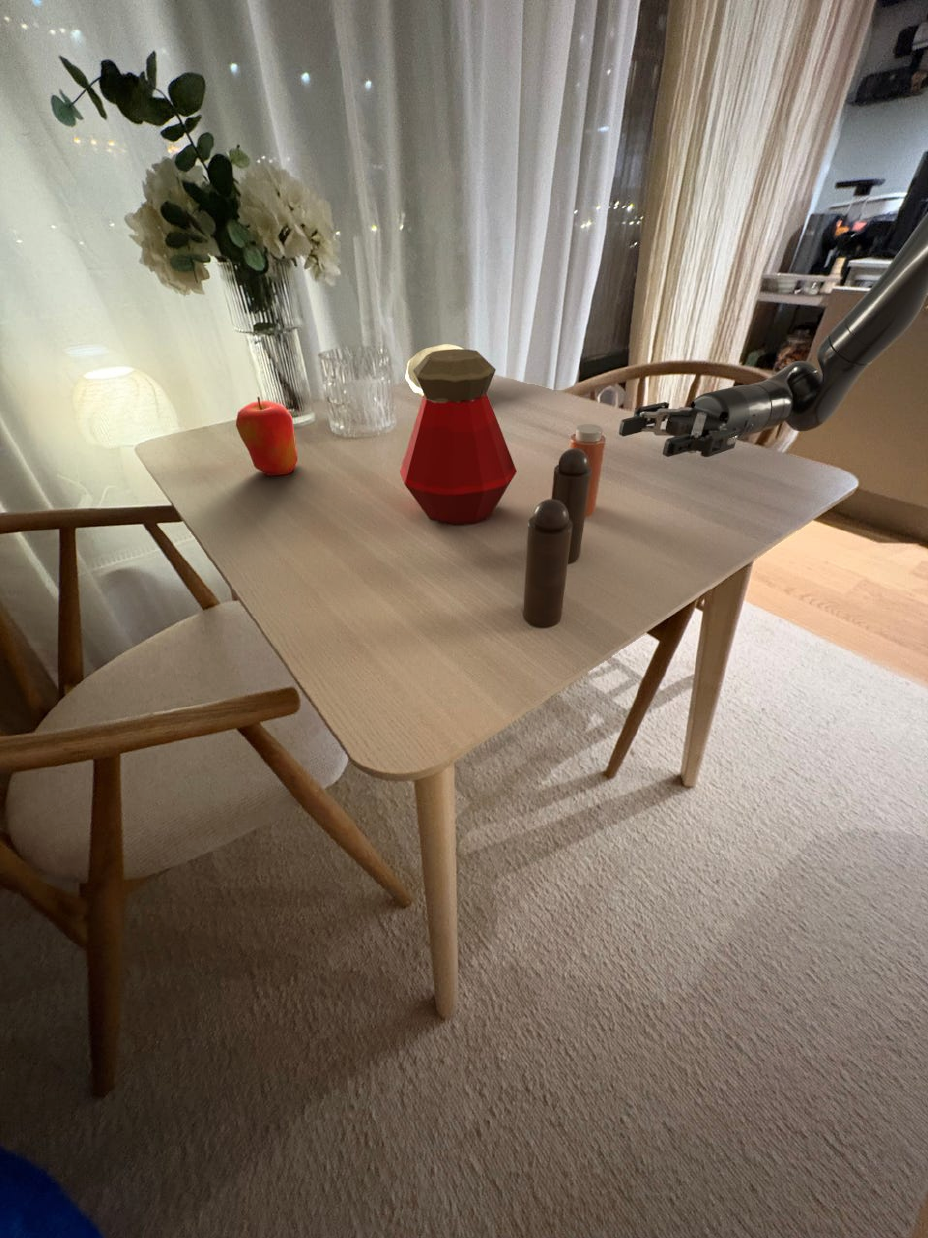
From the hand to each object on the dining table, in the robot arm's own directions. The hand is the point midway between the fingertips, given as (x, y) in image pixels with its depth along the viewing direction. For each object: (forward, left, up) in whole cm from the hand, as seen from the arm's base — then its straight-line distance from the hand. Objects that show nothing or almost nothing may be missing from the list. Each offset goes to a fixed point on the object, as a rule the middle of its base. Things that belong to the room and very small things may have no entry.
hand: (642, 438), depth 66 cm
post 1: (+6, +31, -8) cm, 32 cm away
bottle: (+22, +12, -8) cm, 27 cm away
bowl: (+42, -33, -8) cm, 55 cm away
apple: (+57, +7, -8) cm, 58 cm away
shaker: (+7, +6, -8) cm, 12 cm away
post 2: (+6, +19, -8) cm, 21 cm away
